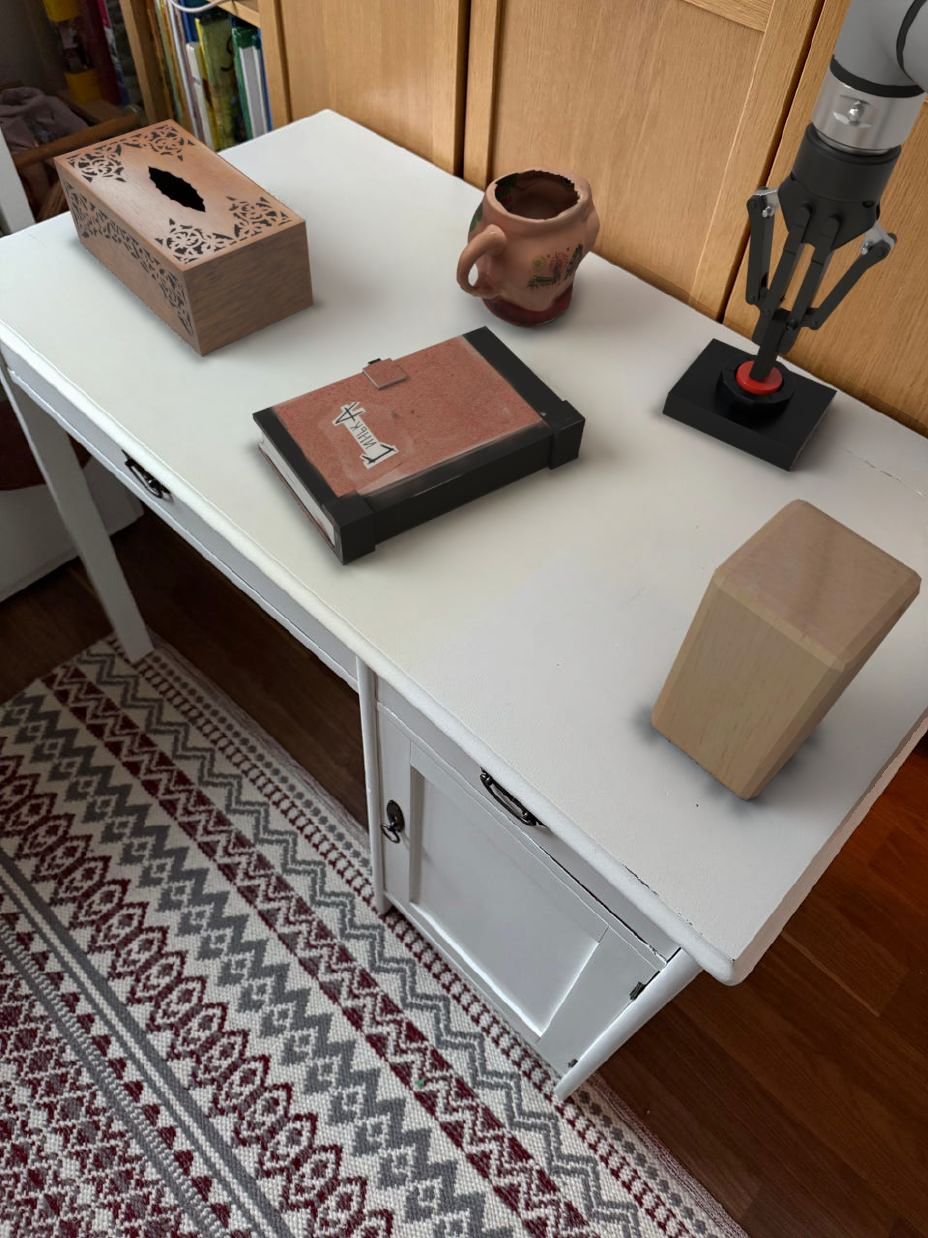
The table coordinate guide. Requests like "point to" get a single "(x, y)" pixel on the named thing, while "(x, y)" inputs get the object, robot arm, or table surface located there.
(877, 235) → the robot arm
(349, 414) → the book
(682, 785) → the table surface
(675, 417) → the control block
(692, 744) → the wooden block
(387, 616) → the table surface
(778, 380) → the button
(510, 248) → the terracotta mug
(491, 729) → the table surface
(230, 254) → the tissue box cover
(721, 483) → the table surface
